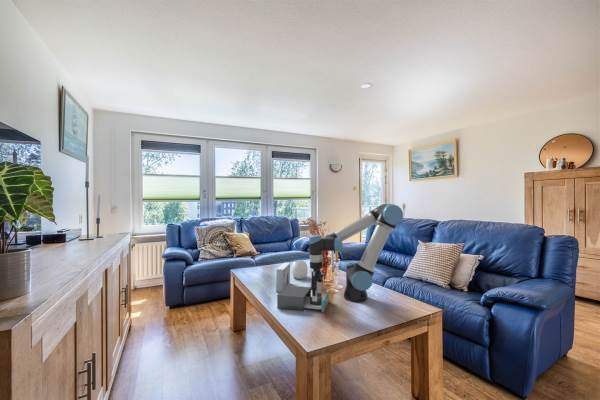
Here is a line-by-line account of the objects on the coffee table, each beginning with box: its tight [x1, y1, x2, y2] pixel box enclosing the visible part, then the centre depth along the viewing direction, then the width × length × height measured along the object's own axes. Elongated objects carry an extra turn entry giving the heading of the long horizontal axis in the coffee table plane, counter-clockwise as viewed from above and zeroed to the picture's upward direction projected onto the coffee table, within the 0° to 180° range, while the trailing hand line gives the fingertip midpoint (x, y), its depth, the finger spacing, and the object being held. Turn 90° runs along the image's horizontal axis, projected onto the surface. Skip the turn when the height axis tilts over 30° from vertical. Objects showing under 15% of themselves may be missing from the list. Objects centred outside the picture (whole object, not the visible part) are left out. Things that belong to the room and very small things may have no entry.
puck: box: [310, 296, 323, 305], centre depth 158 cm, size 8×8×2 cm
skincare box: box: [275, 262, 291, 293], centre depth 193 cm, size 21×6×16 cm, turn 168°
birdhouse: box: [304, 290, 330, 314], centre depth 159 cm, size 16×18×7 cm
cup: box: [291, 259, 309, 280], centre depth 217 cm, size 13×13×14 cm
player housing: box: [276, 285, 312, 312], centre depth 162 cm, size 16×18×8 cm
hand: (317, 296), depth 158 cm, fingers open, 13 cm apart
